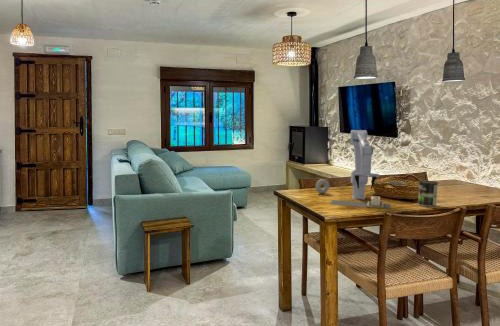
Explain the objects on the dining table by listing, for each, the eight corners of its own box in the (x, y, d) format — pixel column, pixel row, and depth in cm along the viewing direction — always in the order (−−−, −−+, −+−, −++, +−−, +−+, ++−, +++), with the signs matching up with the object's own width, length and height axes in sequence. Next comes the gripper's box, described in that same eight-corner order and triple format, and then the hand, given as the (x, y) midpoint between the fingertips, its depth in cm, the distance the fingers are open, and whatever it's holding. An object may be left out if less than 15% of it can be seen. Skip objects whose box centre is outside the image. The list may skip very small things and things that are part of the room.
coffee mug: (407, 199, 269) (408, 183, 268) (393, 199, 267) (394, 184, 266) (395, 195, 282) (396, 180, 281) (381, 195, 280) (382, 180, 279)
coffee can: (425, 207, 246) (426, 183, 245) (414, 203, 256) (415, 180, 254) (440, 206, 249) (441, 182, 247) (428, 202, 259) (430, 180, 257)
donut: (316, 194, 281) (317, 179, 280) (314, 193, 285) (314, 178, 283) (330, 193, 284) (330, 179, 283) (327, 192, 287) (328, 178, 286)
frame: (367, 202, 256) (367, 200, 256) (383, 203, 253) (383, 201, 253) (367, 206, 243) (367, 205, 243) (383, 208, 241) (383, 206, 241)
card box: (379, 207, 243) (380, 199, 242) (370, 206, 244) (371, 198, 244) (379, 204, 252) (380, 196, 251) (371, 203, 253) (371, 195, 252)
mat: (332, 200, 262) (332, 199, 262) (390, 204, 252) (390, 204, 252) (330, 205, 249) (330, 204, 249) (390, 209, 240) (390, 208, 240)
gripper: (353, 166, 249) (352, 189, 250) (378, 167, 245) (377, 190, 246) (353, 164, 255) (352, 187, 257) (378, 166, 251) (377, 188, 253)
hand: (364, 188), depth 252 cm, fingers open, 7 cm apart
